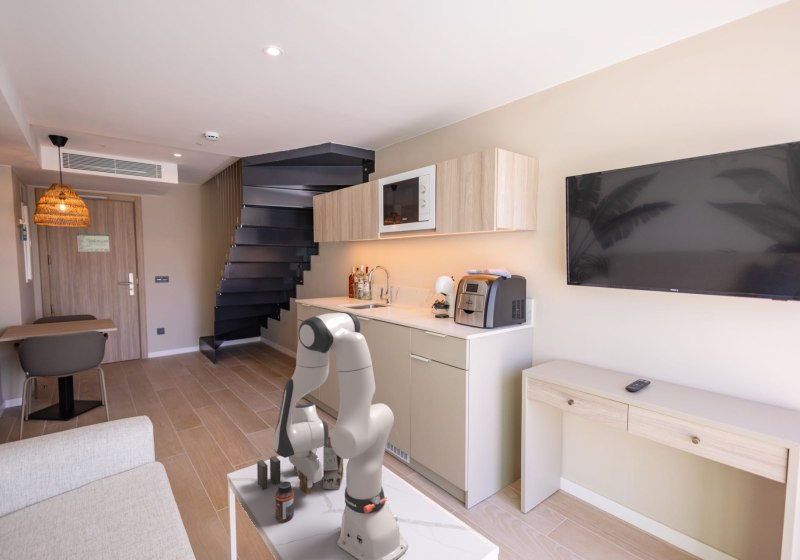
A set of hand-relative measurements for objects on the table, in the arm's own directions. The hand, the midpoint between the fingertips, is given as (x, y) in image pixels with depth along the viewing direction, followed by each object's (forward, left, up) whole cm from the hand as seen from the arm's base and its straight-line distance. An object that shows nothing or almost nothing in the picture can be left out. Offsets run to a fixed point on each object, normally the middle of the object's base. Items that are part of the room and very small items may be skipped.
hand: (305, 482), depth 146 cm
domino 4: (0, 0, -3) cm, 3 cm away
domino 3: (+13, -4, -3) cm, 14 cm away
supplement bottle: (-9, +12, -3) cm, 15 cm away
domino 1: (+13, +11, -3) cm, 17 cm away
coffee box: (-2, -11, -3) cm, 12 cm away
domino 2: (+13, +6, -3) cm, 15 cm away
